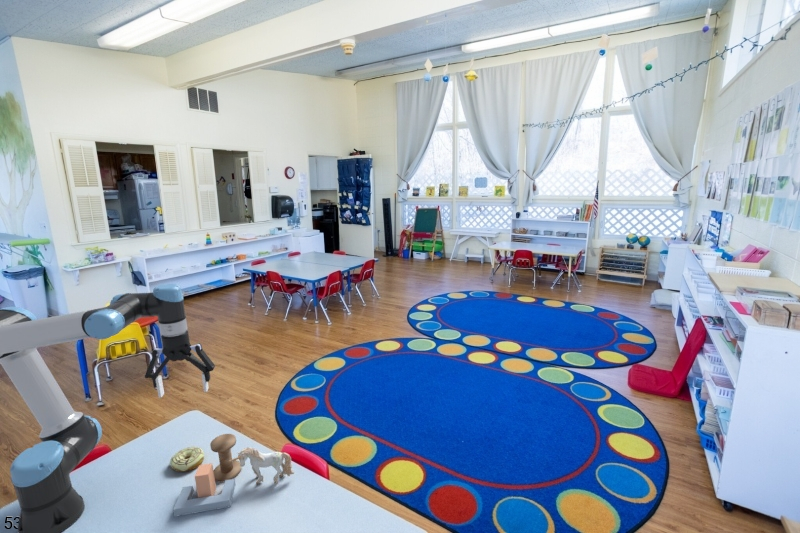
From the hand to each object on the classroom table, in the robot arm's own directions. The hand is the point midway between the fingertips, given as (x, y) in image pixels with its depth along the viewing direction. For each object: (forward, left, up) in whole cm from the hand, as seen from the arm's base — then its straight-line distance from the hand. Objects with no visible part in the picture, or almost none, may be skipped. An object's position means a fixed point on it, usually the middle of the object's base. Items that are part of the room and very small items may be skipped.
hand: (184, 392), depth 129 cm
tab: (+6, -11, -32) cm, 34 cm away
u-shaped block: (+6, -12, -32) cm, 35 cm away
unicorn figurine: (+23, -11, -32) cm, 41 cm away
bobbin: (+10, -1, -32) cm, 33 cm away
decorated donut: (-5, +7, -32) cm, 33 cm away
